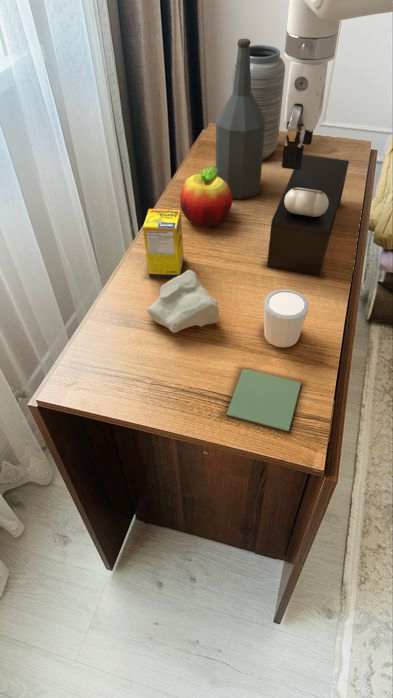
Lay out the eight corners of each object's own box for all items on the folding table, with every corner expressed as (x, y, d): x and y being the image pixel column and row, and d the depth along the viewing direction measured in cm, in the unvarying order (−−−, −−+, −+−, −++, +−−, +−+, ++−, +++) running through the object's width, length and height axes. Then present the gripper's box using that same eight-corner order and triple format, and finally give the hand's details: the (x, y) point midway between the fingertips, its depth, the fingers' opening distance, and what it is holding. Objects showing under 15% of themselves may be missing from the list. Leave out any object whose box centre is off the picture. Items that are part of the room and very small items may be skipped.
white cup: (255, 343, 80) (257, 311, 75) (267, 316, 85) (271, 284, 80) (296, 355, 78) (302, 323, 73) (307, 326, 83) (313, 294, 78)
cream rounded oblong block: (328, 210, 88) (332, 187, 85) (324, 223, 86) (328, 200, 82) (285, 203, 90) (288, 180, 87) (280, 216, 87) (283, 193, 84)
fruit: (172, 227, 104) (169, 182, 96) (194, 201, 110) (192, 158, 103) (219, 238, 100) (220, 193, 93) (239, 211, 107) (241, 167, 100)
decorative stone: (136, 312, 84) (158, 257, 81) (173, 317, 91) (194, 266, 88) (178, 343, 77) (203, 284, 75) (214, 345, 84) (238, 291, 82)
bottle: (247, 174, 118) (255, 28, 96) (268, 193, 112) (282, 42, 90) (208, 184, 115) (207, 36, 93) (227, 204, 109) (231, 51, 87)
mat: (301, 383, 75) (301, 382, 74) (288, 431, 69) (288, 430, 69) (243, 369, 77) (243, 368, 76) (226, 415, 71) (226, 414, 71)
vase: (274, 165, 121) (284, 61, 104) (227, 162, 122) (229, 58, 105) (278, 144, 128) (288, 43, 111) (234, 141, 130) (237, 41, 113)
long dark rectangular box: (339, 204, 108) (349, 160, 101) (320, 276, 92) (329, 230, 84) (294, 197, 110) (300, 154, 103) (266, 266, 94) (271, 220, 87)
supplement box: (183, 259, 96) (181, 208, 88) (180, 278, 92) (177, 228, 84) (153, 257, 97) (148, 207, 89) (148, 277, 93) (142, 226, 85)
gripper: (326, 66, 68) (309, 182, 81) (343, 30, 79) (326, 137, 92) (272, 61, 70) (264, 175, 83) (297, 27, 81) (286, 132, 94)
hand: (296, 155), depth 87 cm, fingers open, 9 cm apart
